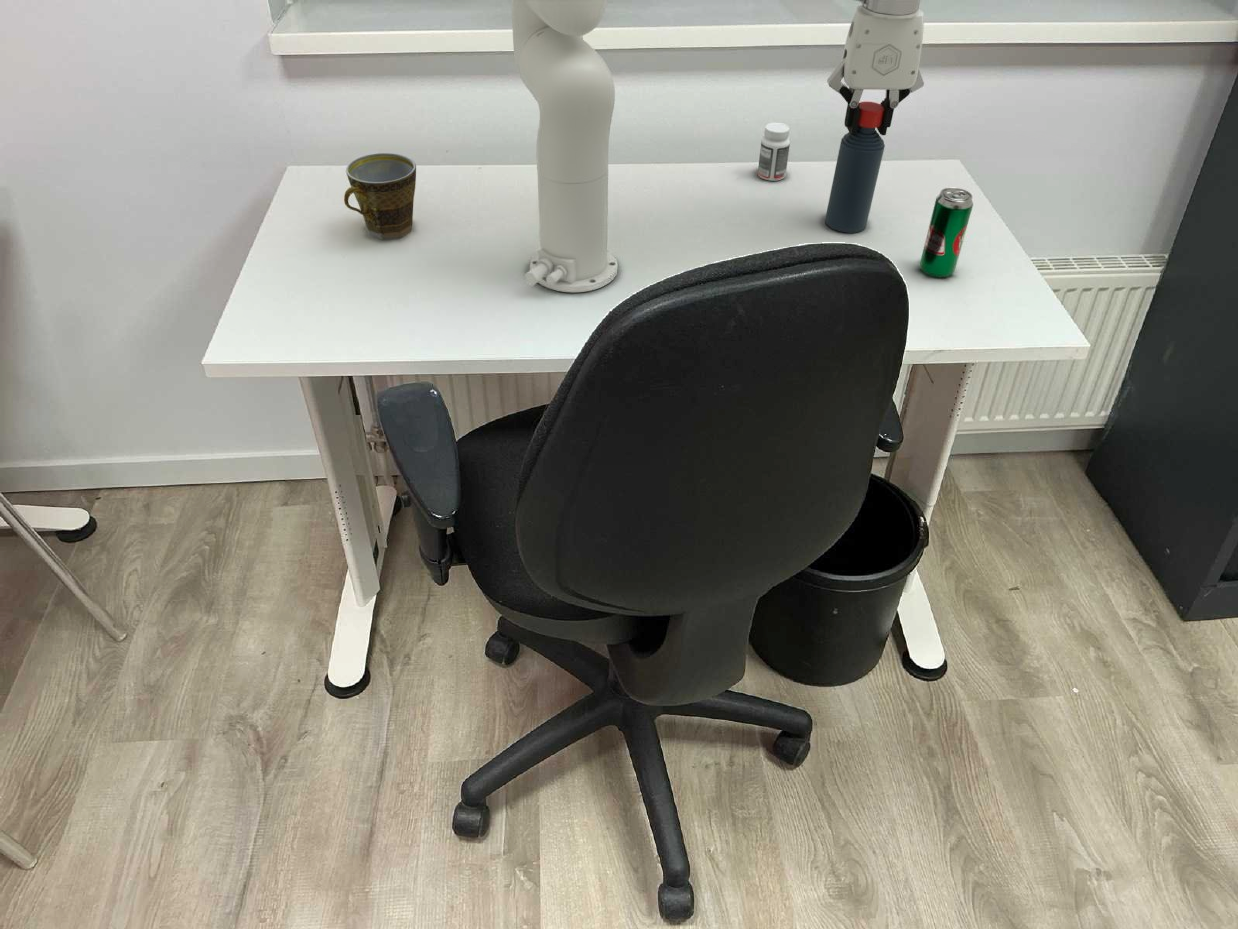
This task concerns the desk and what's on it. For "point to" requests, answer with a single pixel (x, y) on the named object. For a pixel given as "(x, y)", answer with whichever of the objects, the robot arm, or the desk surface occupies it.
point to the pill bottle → (774, 152)
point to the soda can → (946, 232)
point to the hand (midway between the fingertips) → (866, 130)
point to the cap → (870, 114)
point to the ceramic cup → (383, 193)
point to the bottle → (854, 180)
